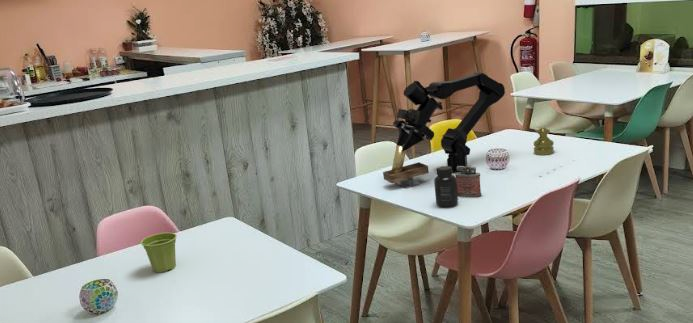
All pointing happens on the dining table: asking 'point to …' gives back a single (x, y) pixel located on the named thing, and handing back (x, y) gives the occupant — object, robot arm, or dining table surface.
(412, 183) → the stand
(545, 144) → the olive tiered piece
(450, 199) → the supplement bottle
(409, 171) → the brown wooden tray
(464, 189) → the lighter
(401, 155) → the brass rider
